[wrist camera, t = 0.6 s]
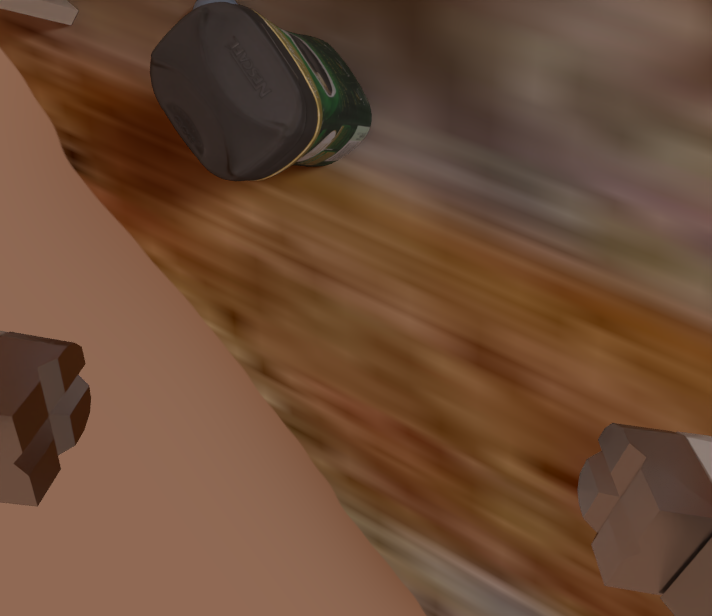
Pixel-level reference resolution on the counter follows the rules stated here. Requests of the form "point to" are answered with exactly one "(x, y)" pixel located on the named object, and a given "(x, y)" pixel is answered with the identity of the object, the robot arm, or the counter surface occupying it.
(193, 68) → the coffee jar
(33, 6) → the white slatted basket
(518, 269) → the counter surface
